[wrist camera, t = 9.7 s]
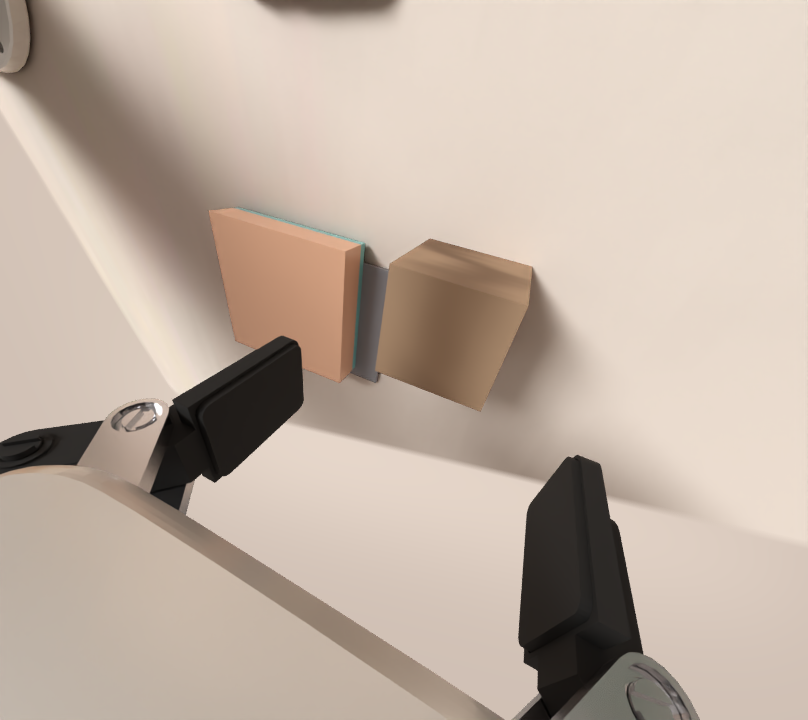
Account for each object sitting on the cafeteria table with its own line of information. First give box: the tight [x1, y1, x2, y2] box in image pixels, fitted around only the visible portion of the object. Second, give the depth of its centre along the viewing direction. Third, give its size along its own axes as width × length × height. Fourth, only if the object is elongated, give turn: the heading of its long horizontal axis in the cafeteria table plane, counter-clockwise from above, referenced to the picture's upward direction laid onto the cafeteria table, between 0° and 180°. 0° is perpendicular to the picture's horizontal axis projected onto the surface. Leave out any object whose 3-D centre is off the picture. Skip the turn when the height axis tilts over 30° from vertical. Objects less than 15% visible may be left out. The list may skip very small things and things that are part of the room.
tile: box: [209, 207, 365, 383], centre depth 22 cm, size 10×2×10 cm
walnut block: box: [375, 239, 532, 412], centre depth 16 cm, size 6×6×6 cm
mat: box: [350, 262, 389, 383], centre depth 24 cm, size 14×10×1 cm
